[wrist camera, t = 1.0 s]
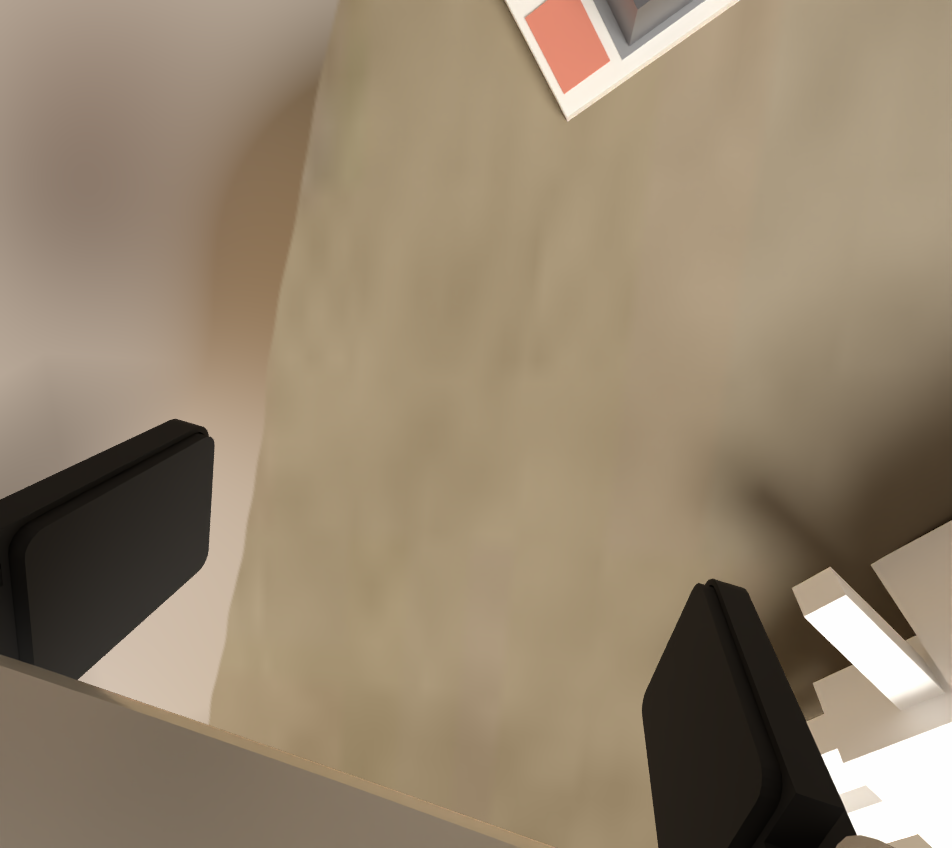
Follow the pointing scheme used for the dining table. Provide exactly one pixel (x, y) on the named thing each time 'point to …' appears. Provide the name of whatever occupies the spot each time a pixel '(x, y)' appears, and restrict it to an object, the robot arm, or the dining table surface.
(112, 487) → the robot arm
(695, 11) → the panel
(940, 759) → the blocky voxel creature
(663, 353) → the dining table surface
